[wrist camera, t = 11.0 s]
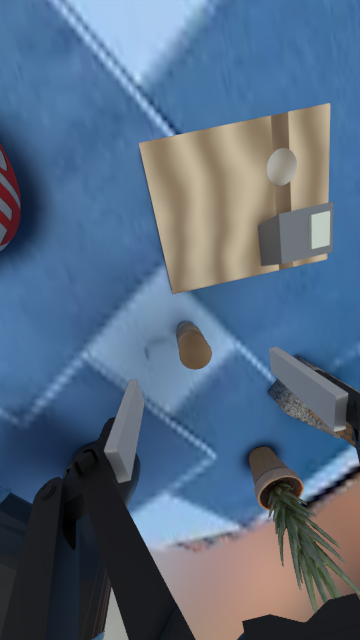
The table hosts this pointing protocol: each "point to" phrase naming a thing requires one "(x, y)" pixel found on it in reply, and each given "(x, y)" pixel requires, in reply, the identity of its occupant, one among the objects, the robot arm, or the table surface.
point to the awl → (192, 346)
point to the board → (234, 191)
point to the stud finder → (296, 235)
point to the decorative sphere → (8, 201)
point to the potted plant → (295, 523)
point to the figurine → (301, 411)
